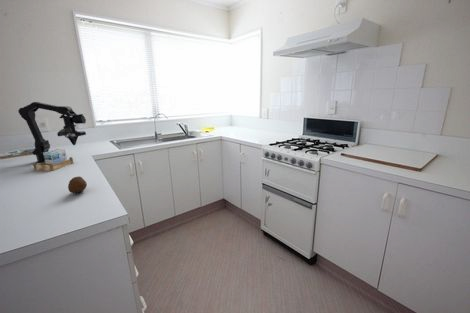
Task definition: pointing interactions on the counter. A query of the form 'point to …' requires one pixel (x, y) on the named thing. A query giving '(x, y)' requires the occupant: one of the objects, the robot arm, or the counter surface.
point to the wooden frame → (52, 167)
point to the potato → (77, 185)
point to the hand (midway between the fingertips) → (74, 145)
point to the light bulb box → (55, 156)
